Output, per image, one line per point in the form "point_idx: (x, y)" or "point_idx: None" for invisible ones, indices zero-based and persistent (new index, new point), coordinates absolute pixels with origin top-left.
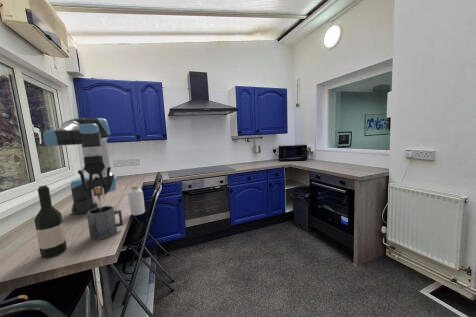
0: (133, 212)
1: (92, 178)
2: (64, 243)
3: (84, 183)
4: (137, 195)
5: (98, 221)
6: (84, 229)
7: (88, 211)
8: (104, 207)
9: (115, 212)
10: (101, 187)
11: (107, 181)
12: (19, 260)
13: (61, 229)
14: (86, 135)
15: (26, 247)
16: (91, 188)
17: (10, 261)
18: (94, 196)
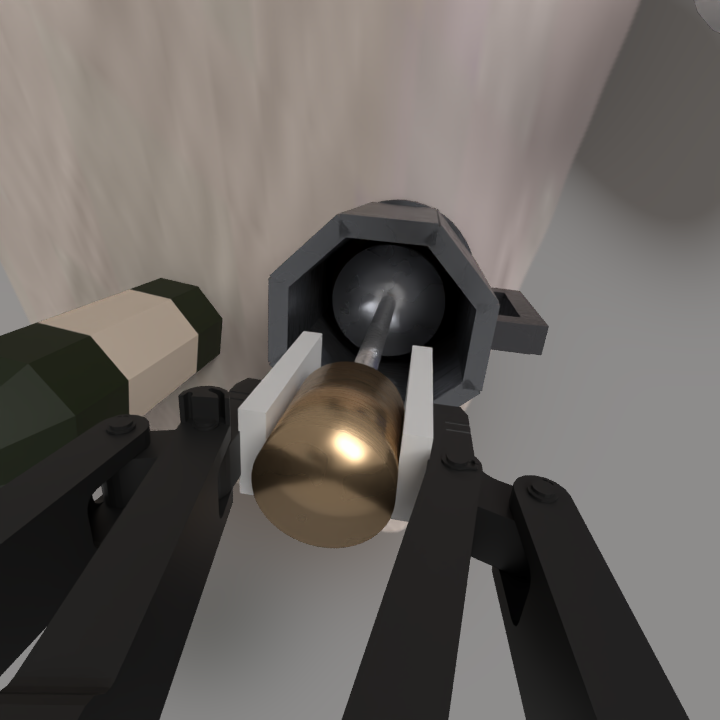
0: (717, 5)
1: (146, 606)
2: (203, 352)
3: (59, 595)
4: None
5: None
6: (280, 39)
7: (275, 283)
8: (418, 244)
9: (491, 346)
10: (386, 518)
11: (514, 653)
12: (53, 284)
13: (152, 398)
14: None
15: (5, 106)
16: (228, 452)
17: (17, 262)
18: (301, 383)
